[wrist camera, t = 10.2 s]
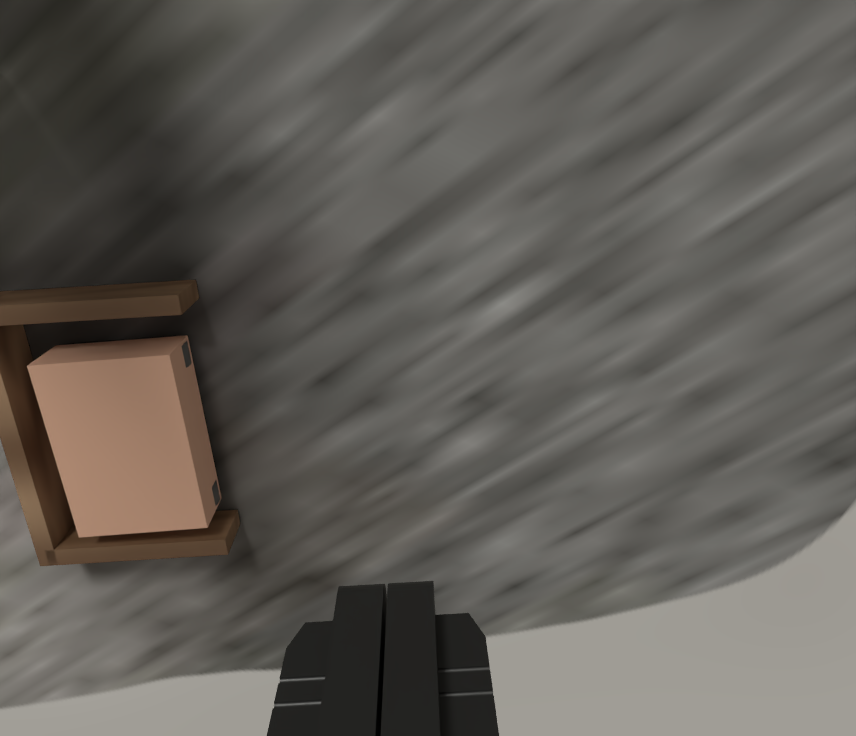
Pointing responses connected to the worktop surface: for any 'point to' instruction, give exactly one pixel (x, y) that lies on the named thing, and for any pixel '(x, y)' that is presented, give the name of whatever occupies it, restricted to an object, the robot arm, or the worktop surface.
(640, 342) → the worktop surface
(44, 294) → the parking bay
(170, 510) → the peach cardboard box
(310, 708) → the robot arm
